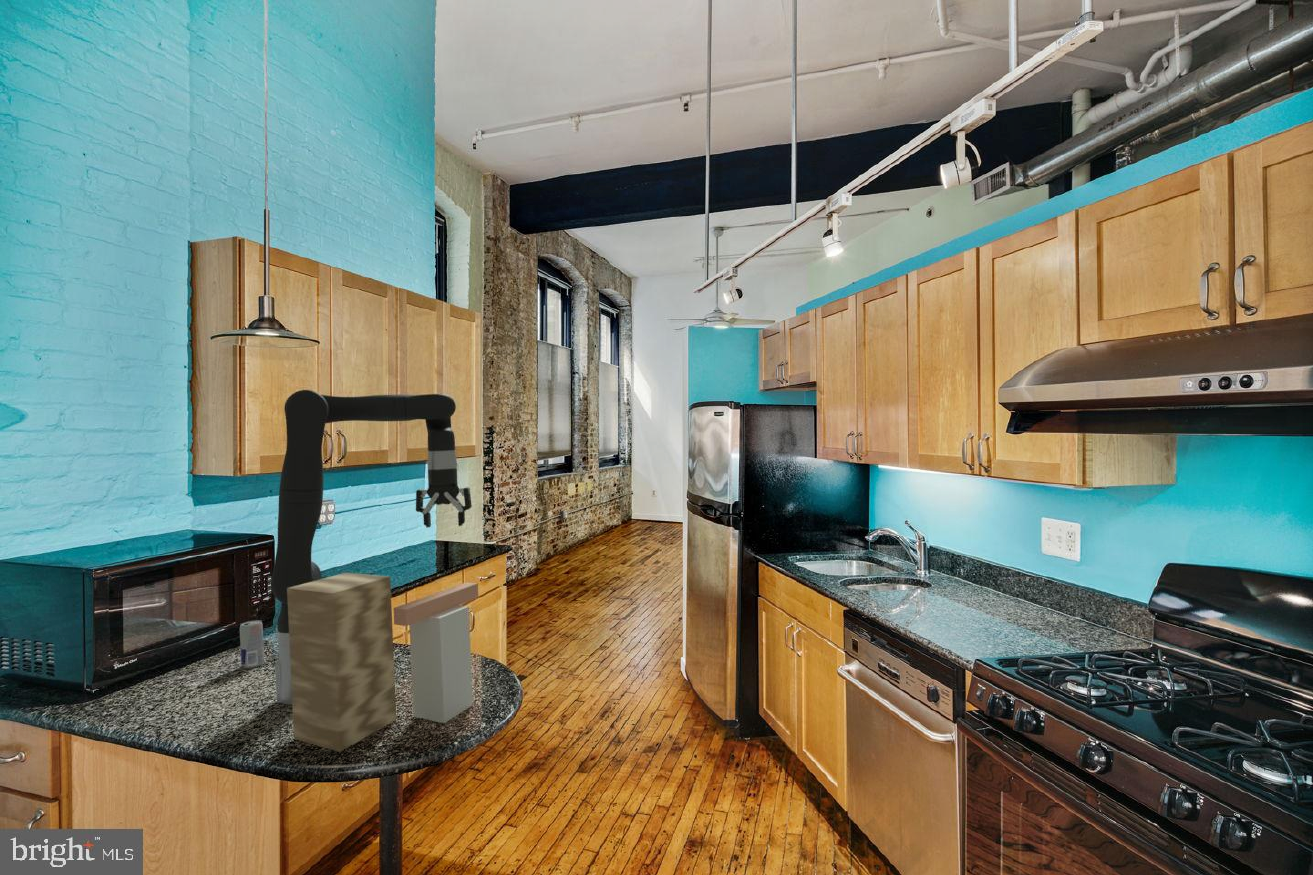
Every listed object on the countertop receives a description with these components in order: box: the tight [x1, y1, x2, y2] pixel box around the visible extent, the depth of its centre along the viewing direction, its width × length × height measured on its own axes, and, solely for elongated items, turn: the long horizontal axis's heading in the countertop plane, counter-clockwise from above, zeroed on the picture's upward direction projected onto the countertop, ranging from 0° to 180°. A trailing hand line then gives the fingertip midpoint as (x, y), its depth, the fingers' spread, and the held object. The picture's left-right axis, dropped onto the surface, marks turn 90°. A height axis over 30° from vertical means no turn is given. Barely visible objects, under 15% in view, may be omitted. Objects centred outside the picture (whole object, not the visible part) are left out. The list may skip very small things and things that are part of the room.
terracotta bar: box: [393, 582, 479, 627], centre depth 136 cm, size 22×4×4 cm, turn 155°
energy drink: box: [239, 619, 265, 669], centre depth 168 cm, size 5×5×12 cm
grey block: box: [409, 605, 474, 724], centre depth 135 cm, size 9×9×23 cm
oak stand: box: [287, 572, 397, 753], centre depth 128 cm, size 14×14×32 cm
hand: (444, 526), depth 163 cm, fingers open, 8 cm apart
